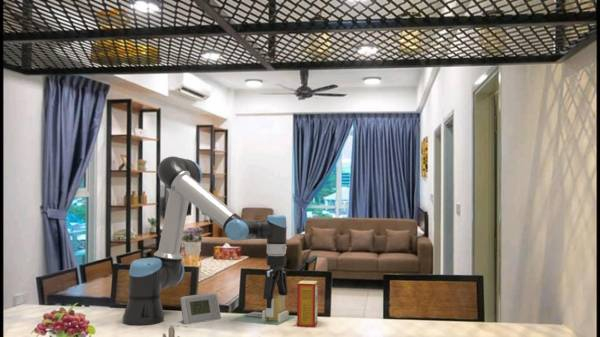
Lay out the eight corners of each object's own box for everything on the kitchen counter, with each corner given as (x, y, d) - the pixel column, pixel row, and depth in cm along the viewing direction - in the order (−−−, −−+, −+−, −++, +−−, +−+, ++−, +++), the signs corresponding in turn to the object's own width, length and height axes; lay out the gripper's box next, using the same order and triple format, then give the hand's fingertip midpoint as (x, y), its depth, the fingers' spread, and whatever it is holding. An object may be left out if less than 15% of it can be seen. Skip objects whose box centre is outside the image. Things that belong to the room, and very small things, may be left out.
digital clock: (183, 328, 174) (184, 298, 175) (175, 323, 182) (176, 294, 183) (225, 323, 183) (225, 295, 184) (215, 319, 190) (216, 291, 191)
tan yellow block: (268, 319, 184) (268, 297, 184) (273, 317, 187) (273, 296, 188) (278, 320, 182) (278, 298, 183) (282, 318, 186) (282, 296, 187)
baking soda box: (300, 321, 188) (301, 279, 189) (317, 322, 187) (317, 279, 189) (297, 326, 178) (297, 282, 180) (314, 327, 178) (315, 283, 179)
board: (229, 323, 183) (230, 310, 183) (251, 315, 198) (251, 303, 199) (277, 328, 175) (277, 315, 175) (296, 319, 190) (296, 307, 191)
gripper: (272, 257, 176) (271, 320, 173) (296, 253, 196) (295, 310, 193) (254, 256, 179) (253, 318, 176) (279, 252, 199) (278, 308, 196)
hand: (275, 314), depth 185 cm, fingers open, 9 cm apart
